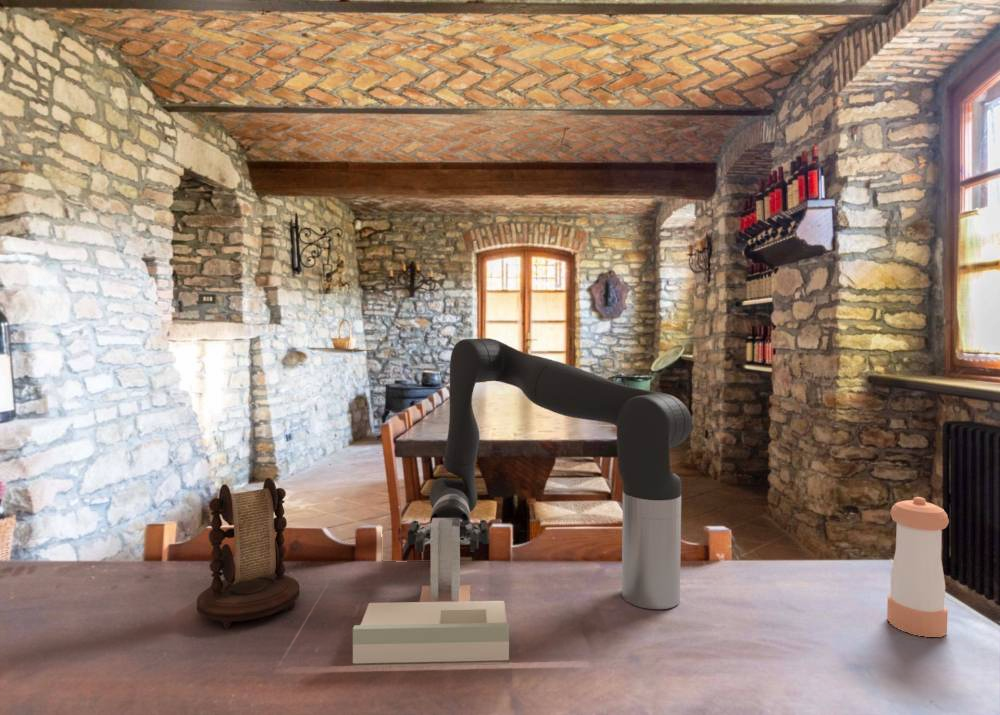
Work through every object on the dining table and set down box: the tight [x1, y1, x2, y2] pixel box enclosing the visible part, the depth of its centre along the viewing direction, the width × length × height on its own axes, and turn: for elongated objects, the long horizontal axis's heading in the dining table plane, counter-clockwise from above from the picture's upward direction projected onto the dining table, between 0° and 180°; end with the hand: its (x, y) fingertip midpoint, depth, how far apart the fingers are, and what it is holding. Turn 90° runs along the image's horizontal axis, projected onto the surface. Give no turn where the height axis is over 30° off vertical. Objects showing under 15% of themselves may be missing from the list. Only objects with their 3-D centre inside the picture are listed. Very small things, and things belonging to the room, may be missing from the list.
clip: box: [430, 518, 461, 602], centre depth 96 cm, size 4×4×12 cm
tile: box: [419, 584, 471, 602], centre depth 96 cm, size 8×8×1 cm
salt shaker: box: [886, 496, 950, 638], centre depth 87 cm, size 7×7×19 cm
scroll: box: [196, 477, 301, 630], centre depth 92 cm, size 15×15×20 cm
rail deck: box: [352, 600, 510, 669], centre depth 82 cm, size 12×20×5 cm, turn 93°
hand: (446, 546), depth 99 cm, fingers open, 8 cm apart
